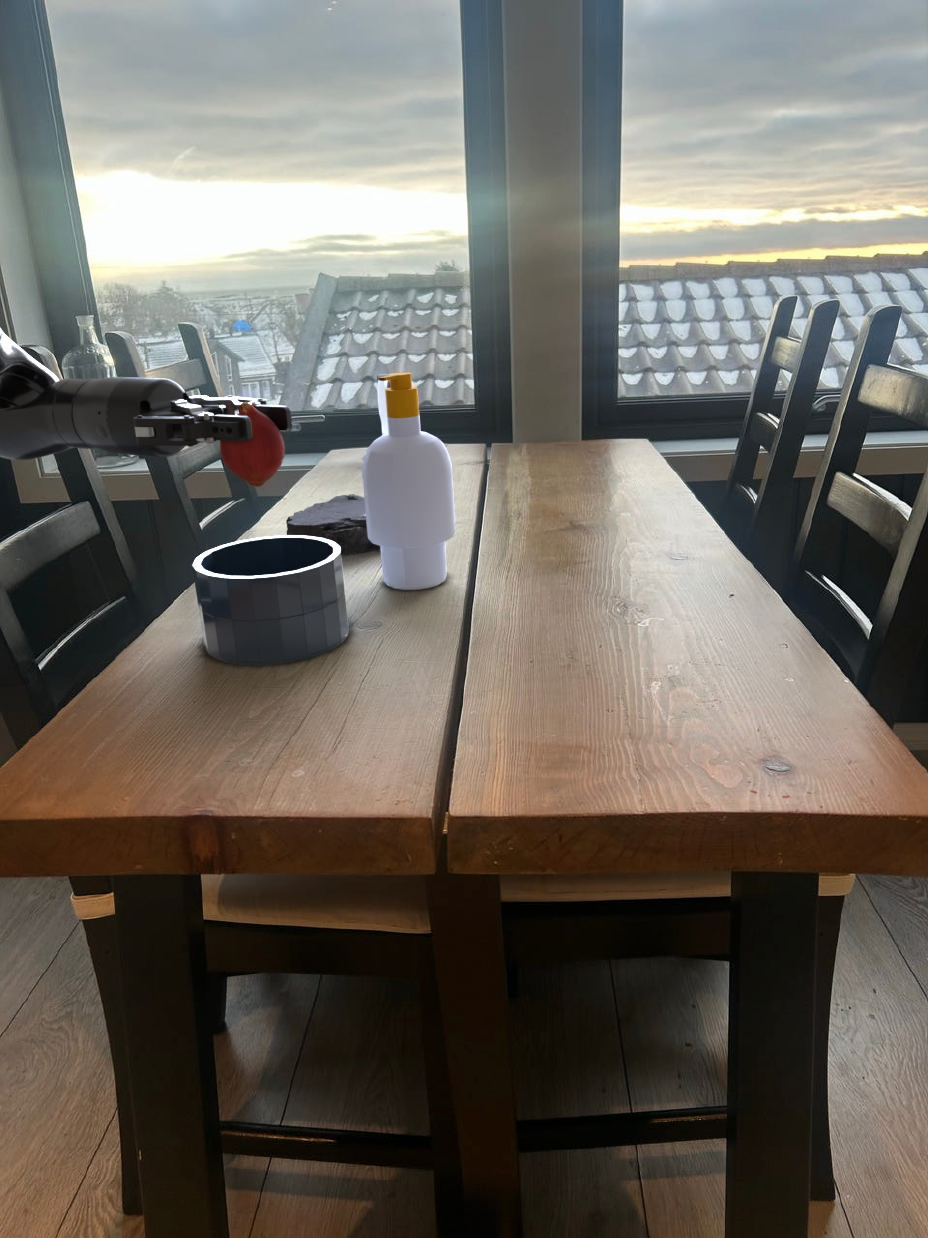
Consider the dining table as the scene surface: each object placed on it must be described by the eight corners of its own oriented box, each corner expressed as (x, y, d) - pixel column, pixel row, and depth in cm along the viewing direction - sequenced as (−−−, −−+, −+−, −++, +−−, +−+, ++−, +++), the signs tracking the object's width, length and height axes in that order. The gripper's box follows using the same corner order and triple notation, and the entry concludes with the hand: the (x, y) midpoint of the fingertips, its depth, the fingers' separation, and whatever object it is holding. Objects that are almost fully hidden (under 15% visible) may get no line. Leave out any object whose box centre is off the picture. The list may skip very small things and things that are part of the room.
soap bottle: (354, 587, 118) (334, 378, 109) (410, 564, 125) (395, 366, 117) (421, 601, 112) (405, 381, 103) (476, 576, 119) (465, 369, 111)
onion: (252, 476, 98) (241, 394, 95) (300, 481, 96) (291, 396, 92) (213, 492, 93) (201, 405, 90) (264, 496, 91) (253, 408, 88)
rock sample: (297, 565, 127) (293, 527, 125) (278, 535, 141) (274, 501, 139) (428, 546, 132) (426, 510, 130) (397, 519, 146) (394, 486, 144)
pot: (288, 676, 94) (277, 585, 91) (175, 653, 101) (161, 568, 98) (376, 624, 106) (369, 542, 102) (269, 607, 113) (259, 530, 109)
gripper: (68, 388, 91) (211, 393, 84) (178, 368, 103) (312, 371, 96) (83, 469, 94) (223, 481, 87) (188, 440, 106) (319, 449, 98)
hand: (269, 423), depth 91 cm, fingers closed on onion, 5 cm apart
